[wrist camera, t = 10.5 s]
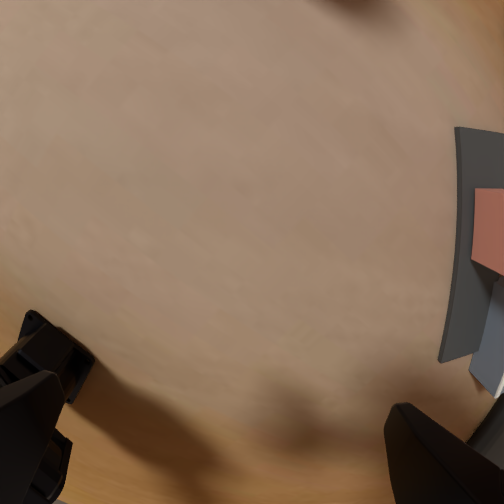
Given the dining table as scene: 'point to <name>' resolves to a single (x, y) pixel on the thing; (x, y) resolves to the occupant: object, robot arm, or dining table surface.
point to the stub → (489, 229)
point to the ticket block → (476, 267)
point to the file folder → (491, 435)
